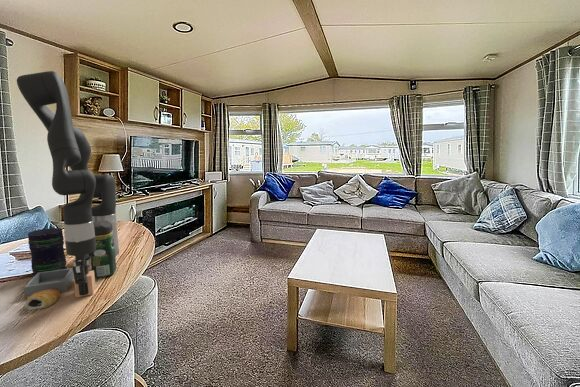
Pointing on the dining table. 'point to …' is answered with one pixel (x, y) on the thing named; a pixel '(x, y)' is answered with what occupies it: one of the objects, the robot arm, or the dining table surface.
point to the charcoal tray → (49, 281)
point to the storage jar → (47, 250)
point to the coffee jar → (103, 250)
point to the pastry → (42, 299)
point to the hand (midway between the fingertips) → (85, 290)
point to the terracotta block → (90, 284)
